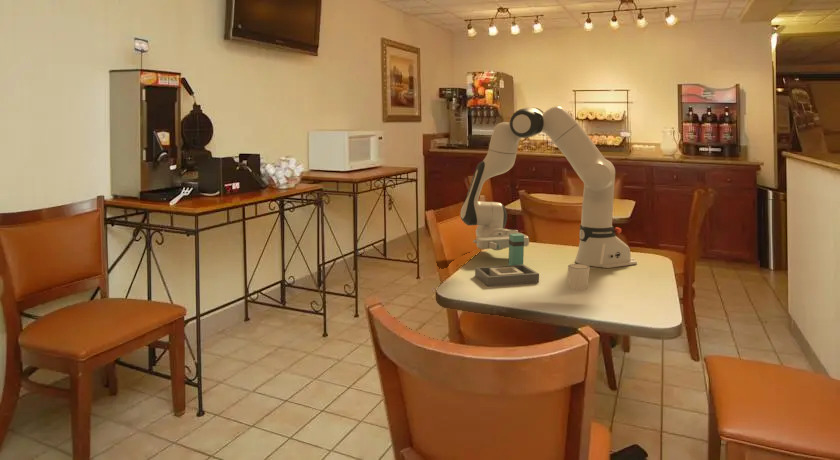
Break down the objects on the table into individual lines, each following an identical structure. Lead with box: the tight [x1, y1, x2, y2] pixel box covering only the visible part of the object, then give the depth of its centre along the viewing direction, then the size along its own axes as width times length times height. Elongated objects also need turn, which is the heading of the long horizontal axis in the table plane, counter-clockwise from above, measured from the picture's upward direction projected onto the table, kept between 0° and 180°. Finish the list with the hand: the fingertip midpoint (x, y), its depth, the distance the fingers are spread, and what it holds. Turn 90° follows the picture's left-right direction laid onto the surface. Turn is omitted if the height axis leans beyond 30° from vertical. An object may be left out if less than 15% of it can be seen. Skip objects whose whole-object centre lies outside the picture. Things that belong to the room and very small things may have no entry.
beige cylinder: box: [567, 263, 591, 291], centre depth 181 cm, size 7×7×7 cm
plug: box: [508, 232, 525, 265], centre depth 203 cm, size 4×4×13 cm
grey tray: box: [474, 263, 540, 287], centre depth 191 cm, size 18×13×3 cm
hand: (509, 245), depth 209 cm, fingers open, 8 cm apart
